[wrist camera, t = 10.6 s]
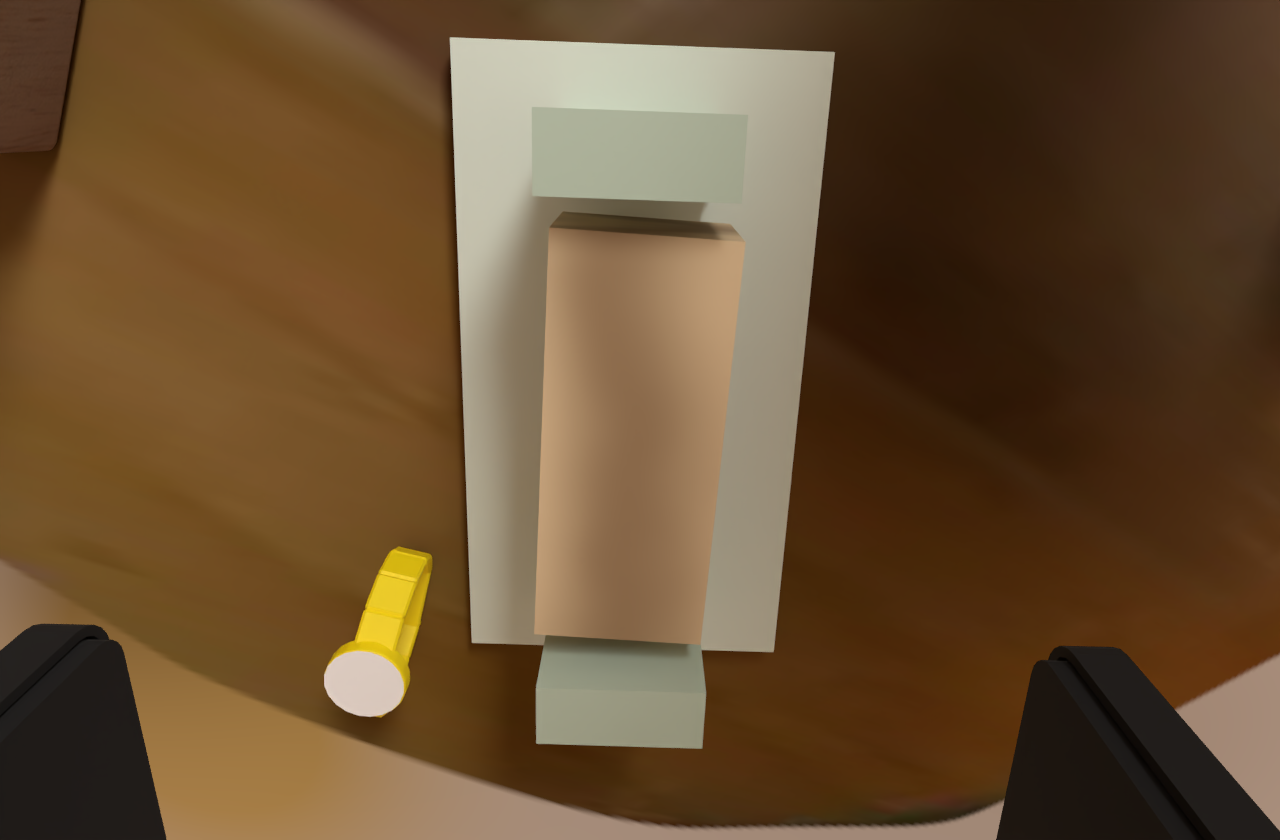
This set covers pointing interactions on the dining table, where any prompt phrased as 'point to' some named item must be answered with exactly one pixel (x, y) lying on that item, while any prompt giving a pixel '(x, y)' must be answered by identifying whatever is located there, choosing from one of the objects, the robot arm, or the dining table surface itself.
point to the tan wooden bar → (633, 423)
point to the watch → (382, 638)
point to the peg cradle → (516, 315)
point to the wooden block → (34, 70)
